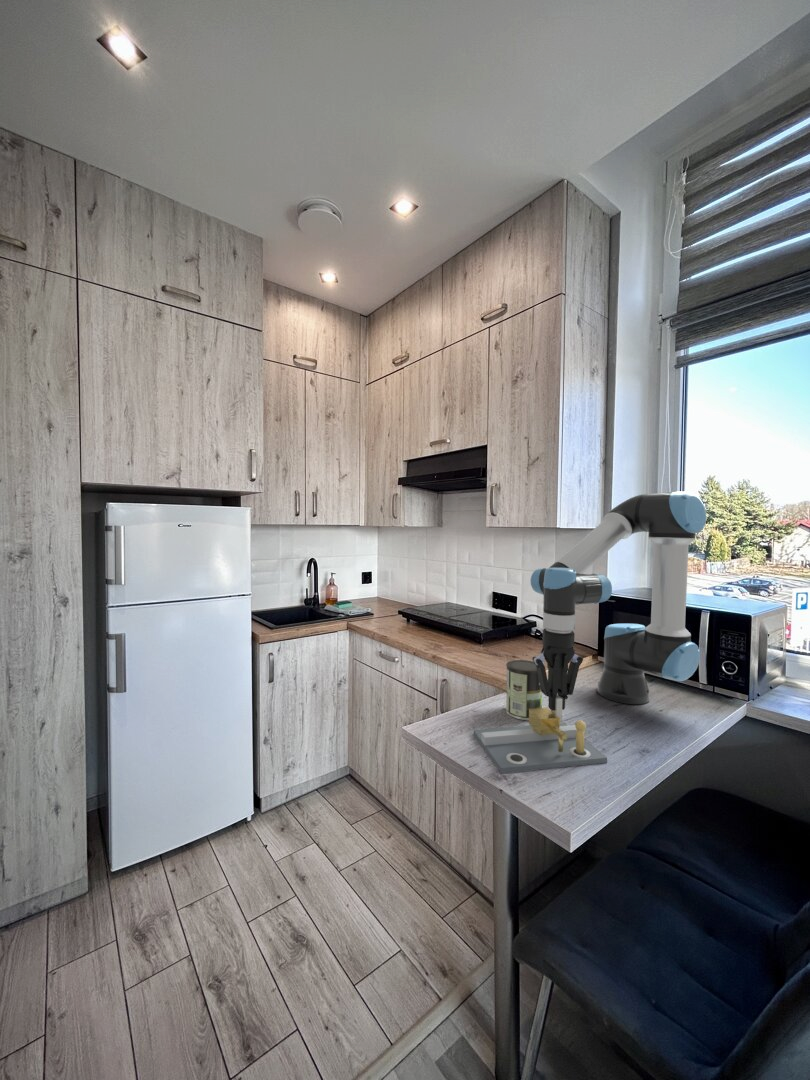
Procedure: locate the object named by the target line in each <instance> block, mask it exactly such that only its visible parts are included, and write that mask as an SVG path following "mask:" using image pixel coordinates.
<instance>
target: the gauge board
mask: <svg viewBox="0 0 810 1080" xmlns="http://www.w3.org/2000/svg"><path fill="white" fill-rule="evenodd" d="M586 728H587V724H586V723H585V722H584V721H583V720H581V719H580V720H577V721H576V722H575V724H570V725H568V724H567V723H566V722H563V721H562V724H560V725H559V729H561V730H562V731H563V732H564V733H565V734H566V735H567V739H565V740H563V752H559V751H558V743H559V737H558V736H557V735H556V734H550V735H539V734H538V733H537V732H536V731H535V730H534V729H533V728H532V727H531V726H530V725H529V724H528V725H514V726H503V727H491V728H479V729H477V728H476V729H473V731H472V733H473V734H472V735H473V736H474V737H475V739H476V740H477V742H478V743H479V744H480V746H481V748H483V750H484V752H485V753H486V754H487V756H488V757H489V758H490V760H491V761H492V763H493V764H494V766H495V767H496V769H498V771H499V772H500V774H507V773H508V774H510V773H518V772H529V771H538V770H547V769H548V770H549V769H556V768H557V769H558V768H566V767H567V768H568V767H576V766H585V765H595V764H596V765H597V764H606V763H608V757H607V756H606V755H605V754H603V753H602V751H600V750H599V749H598V748H596V747H595V746H594V745H593V744H592V743H590V742H589V741H588V740H586V738H585V734H586V733H585V731H586Z"/></svg>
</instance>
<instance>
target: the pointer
mask: <svg viewBox="0 0 810 1080" xmlns="http://www.w3.org/2000/svg"><path fill="white" fill-rule="evenodd" d="M528 725H530V726H531V727H532V728H533V729H534V730H535V731H536V732H537V733H538V734H539V735H550V734H556V735H557V736H558V737H559V743H558V751H559V752H563V740H565V739H567V735H566V734H565V733H564V732H563V731H562V730H561V729H559V717H558V716H557V715H556V714H554V713H553V712H552V711H551V710H550V709H549V707H542V708H533V709H529V720H528Z"/></svg>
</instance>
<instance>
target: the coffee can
mask: <svg viewBox="0 0 810 1080" xmlns="http://www.w3.org/2000/svg"><path fill="white" fill-rule="evenodd" d="M505 667H506V697H505V698H506V705H505V707H506V708H505V712H506V714H507V715H508V716H510V717H512V718H514V719H517V720H521V721H529V709H533V708H543V693H542V692H541V688H540V683H539V678H538V673H537V668H536V665H535V663H534V662H533V660H532V661H531V660H525V659H516V660H514V659H513V660H509V661H508V662H506V665H505Z"/></svg>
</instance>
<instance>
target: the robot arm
mask: <svg viewBox="0 0 810 1080" xmlns="http://www.w3.org/2000/svg"><path fill="white" fill-rule="evenodd" d="M706 523H707V511H706V508H705V504H704V502H703V501H702V500H701V498H700V497H699V496H698V495H697V494H695V493H694V492H690V491H672V492H661V493H658V492H656V493H643V494H642V493H641V494H638V495H634V496H632V497H630V498H628V499H626V500H625V501H623V502H621V503H620V504H618V505H616V506H615V507H613V508H612V509H611V510H610V511H608V512H607V513H606V514H605V515H604V516H603V517H602V522H601V523H600V524H599V525H597V526H596V527H595V528H593V529H592V531H590V532H589V533H588V534H587V535H586V536H584V537H583V538H581V540H580V541H578V542H577V543H576V544H575V545H574V546H573V547H571V548H570V549H569V550H568V551H567V552H566V553H564V554H562V556H560V558H559V559H557V560H556V561H555V562H554V563H552V564H551V565H550V566H549V567H548V568H545V567H542V568H538V569H535V570H534V571H533V572H532V574H531V575H530V586H531V588H532V590H533V591H534V592H535V593H537V594H540V595H543V612H542V613H543V618H542V627H543V628H544V629H543V630H542V649H541V650H540V651H541V652H540V654H539V655H538V656H532V661H533V662H534V663H535V665H536V668H537V673H538V678H539V683H540V688H541V692H542V695H545V697H548V700H547V701H548V703H547V704H548V707H547V708H548V709H549V710H551V711H552V712H553V713H554V714H556V715H557V716H558V717H559V725H560V724H562V722H563V711H564V710H565V709H566V700H567V699H568V698H569V696H572V695H573V694H574V690H575V686H576V681H577V678H578V674H579V669H580V666H581V664H582V663H583V661H584V658H583V657H582V656H580V655H578V654H576V652H575V649H574V646H575V632H574V630H575V629H576V624H575V623H576V606H577V605H588V604H599V603H604V602H607V601H608V600H609V599H610V597H612V594H613V593H612V592H613V585H612V582H611V581H610V579H609V578H608V577H607V576H605V575H603V574H600V573H599V574H598V573H591V574H589V573H587V574H586V573H585V572H586V571H587V570H588V569H590V568H591V567H592V566H593V565H594V564H596V562H597V561H599V559H601V558H602V557H603V556H604V555H605V554H607V552H609V551H610V550H611V549H612V548H613V547H614V546H615V545H617V543H619V542H620V541H622V540H626V539H628V538H629V537H630V536H632V535H634V534H637V533H641V532H642V533H643V532H644V533H645V532H646V533H647V532H648V539H649V540H650V541H651V542H652V543H653V564H652V565H653V566H652V568H653V569H652V585H651V587H652V590H651V610H650V611H651V612H650V623H649V624H648V625H647V626H645V625H644V624H639V623H613V624H612V623H611V624H609V625H606V627H605V628H604V629H605V630H604V637H603V641H604V645H603V647H604V648H603V670H602V673H601V675H600V677H599V681H598V683H597V693H598V694H599V695H600V696H601V697H603V698H605V699H607V700H609V701H613V702H616V703H621V704H628V705H643V704H647V703H649V702H650V700H651V699H650V698H651V695H650V694H651V693H650V690H649V686H648V682H647V680H646V676H645V672H647V673H649V674H654V675H656V676H660V677H663V678H664V679H667V680H672V681H677V682H683V681H686V680H688V679H689V678H691V677H692V676H693V675H694V674H695V672H696V671H697V669H698V666H699V664H700V660H701V659H700V658H701V651H700V649H699V646H698V645H697V644H696V643H695V642H692V639H691V637H692V634H691V631H690V632H689V630H688V629H687V628H686V610H687V609H686V608H687V590H688V587H687V586H688V565H689V564H688V562H689V545H690V544H691V543H693V542H694V541H695V540H696V534H698V533H700V532H702V531H703V530H704V528H705V525H706ZM545 662H546V663H545ZM545 664H546V665H545ZM546 666H547V670H548V671H547V670H546Z"/></svg>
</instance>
